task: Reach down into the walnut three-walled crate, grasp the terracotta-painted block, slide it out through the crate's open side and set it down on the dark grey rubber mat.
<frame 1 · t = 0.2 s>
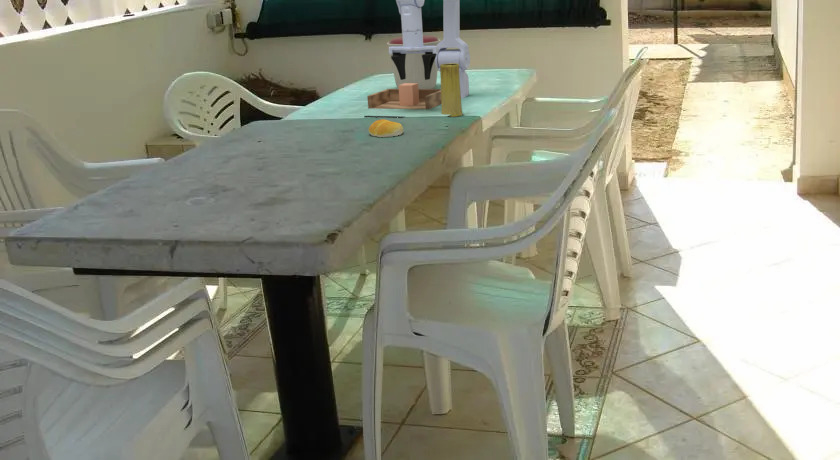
hand: (415, 79, 252), 10 cm above the table, fingers open, 7 cm apart
canister: (416, 91, 301), on the table
mat: (390, 114, 257), on the table
bread roll: (386, 135, 228), on the table
block: (409, 104, 268), point 1 cm above the table, touching crate
crate: (408, 107, 267), on the table
vase: (451, 116, 249), on the table
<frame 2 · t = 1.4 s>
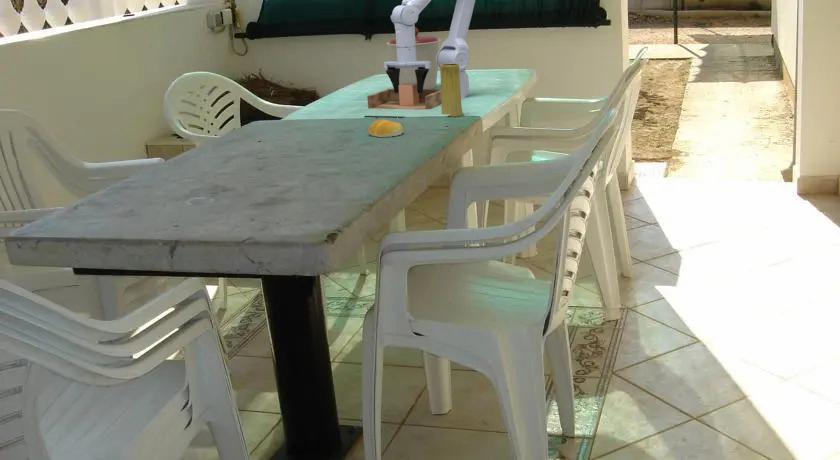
hand: (408, 92, 267), 4 cm above the table, fingers open, 7 cm apart
nothing on the table moved.
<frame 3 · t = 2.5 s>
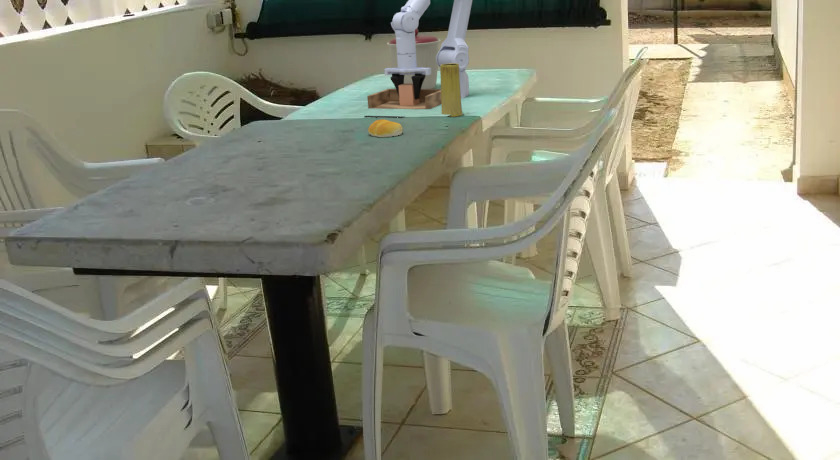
hand: (409, 98, 268), 2 cm above the table, fingers closed on block, 4 cm apart
block: (409, 104, 268), point 1 cm above the table, touching crate, gripper
everything else where it was.
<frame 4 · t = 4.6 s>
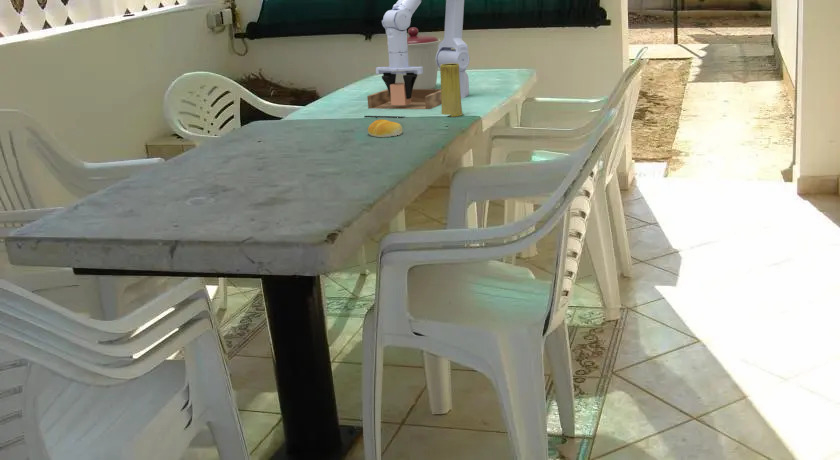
hand: (400, 98, 262), 3 cm above the table, fingers closed on block, 4 cm apart
block: (401, 103, 263), point 2 cm above the table, touching gripper
everything else where it was.
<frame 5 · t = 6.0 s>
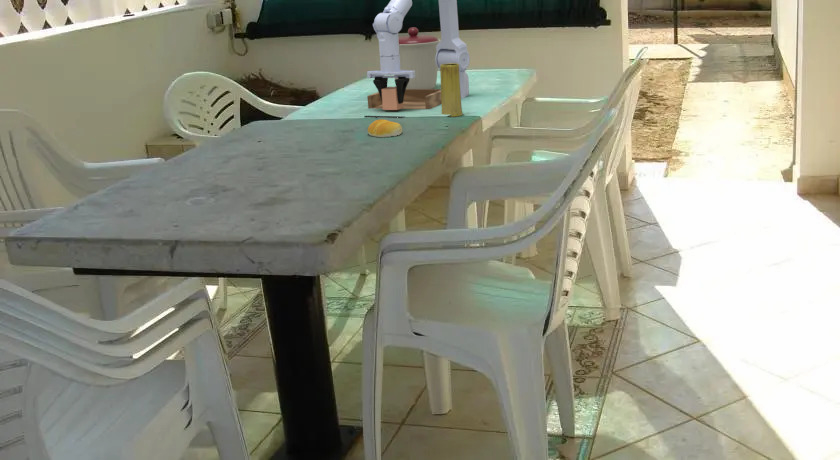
hand: (392, 103, 257), 3 cm above the table, fingers closed on block, 4 cm apart
block: (393, 108, 258), point 1 cm above the table, touching gripper
everything else where it was.
when the fingers open (3 cm above the table, at t = 6.9 s): block stays where it is, resting on mat.
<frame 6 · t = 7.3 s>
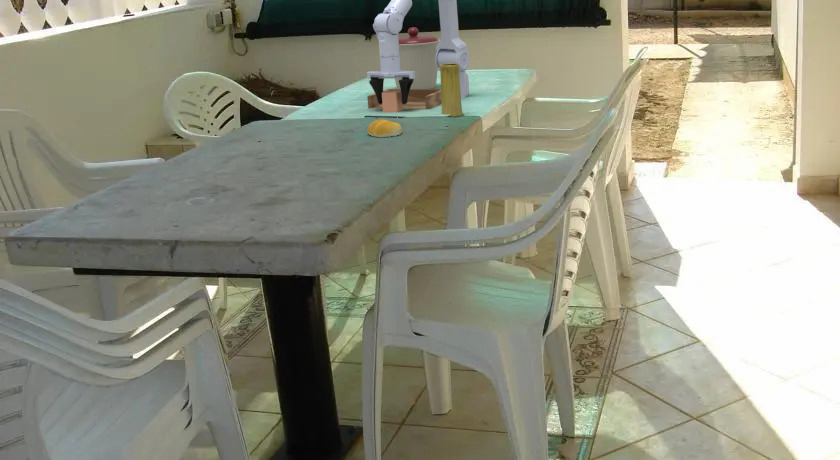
hand: (392, 103, 257), 3 cm above the table, fingers open, 7 cm apart
block: (393, 112, 258), resting on mat
everything else where it was.
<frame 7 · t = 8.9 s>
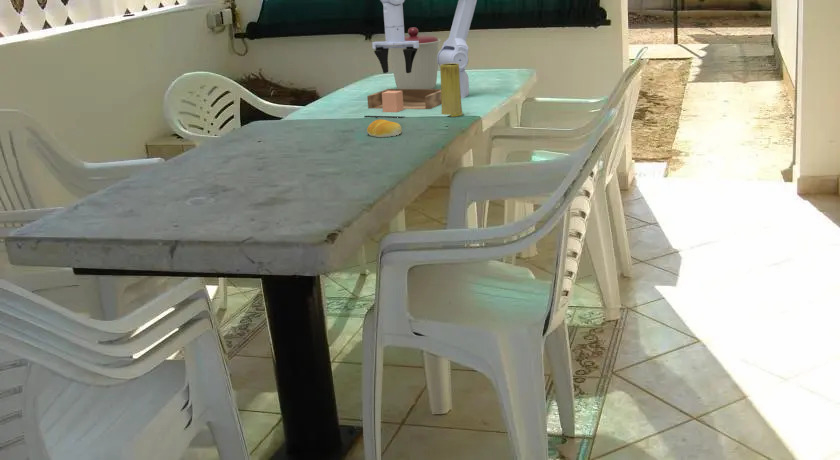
hand: (397, 72, 266), 10 cm above the table, fingers open, 7 cm apart
nothing on the table moved.
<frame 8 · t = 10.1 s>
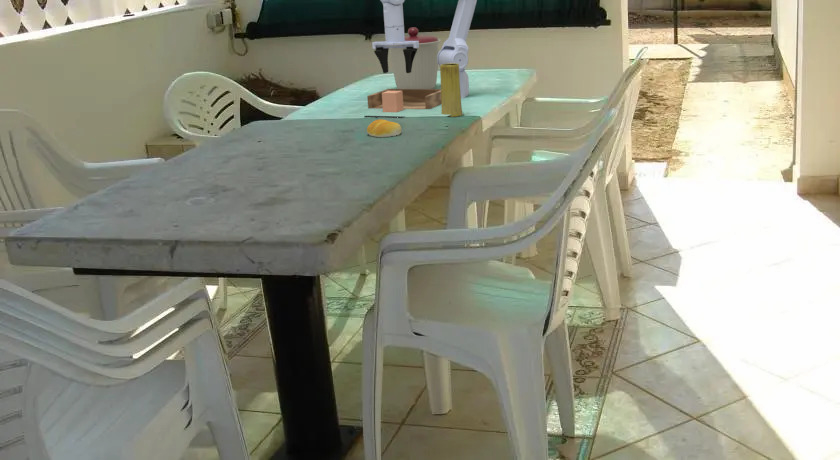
hand: (397, 72, 266), 10 cm above the table, fingers open, 7 cm apart
nothing on the table moved.
at the end: block inside the target area (1.5 cm from its centre), resting on mat; block tilted 0°; the gripper is holding nothing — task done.
